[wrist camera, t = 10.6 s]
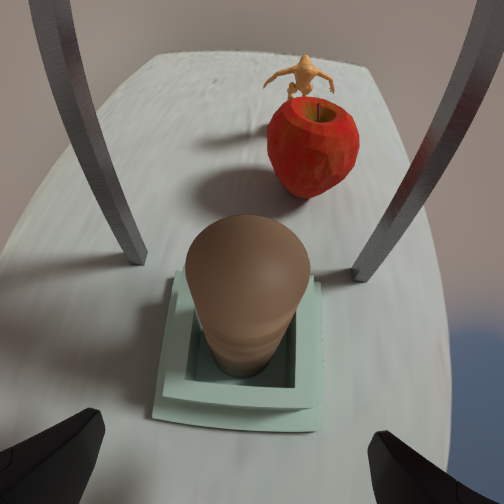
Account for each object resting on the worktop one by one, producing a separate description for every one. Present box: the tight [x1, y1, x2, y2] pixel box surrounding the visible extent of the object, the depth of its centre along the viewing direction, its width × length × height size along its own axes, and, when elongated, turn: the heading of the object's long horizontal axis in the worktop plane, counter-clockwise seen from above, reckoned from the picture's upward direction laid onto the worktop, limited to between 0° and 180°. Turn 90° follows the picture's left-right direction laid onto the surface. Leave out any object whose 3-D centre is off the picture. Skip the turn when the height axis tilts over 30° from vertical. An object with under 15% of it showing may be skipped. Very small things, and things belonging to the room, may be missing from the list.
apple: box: [267, 96, 359, 199], centre depth 27 cm, size 9×8×11 cm
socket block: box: [152, 265, 323, 432], centre depth 20 cm, size 12×12×5 cm
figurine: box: [263, 55, 335, 100], centre depth 31 cm, size 8×6×12 cm
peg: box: [185, 215, 310, 379], centre depth 16 cm, size 4×4×12 cm
